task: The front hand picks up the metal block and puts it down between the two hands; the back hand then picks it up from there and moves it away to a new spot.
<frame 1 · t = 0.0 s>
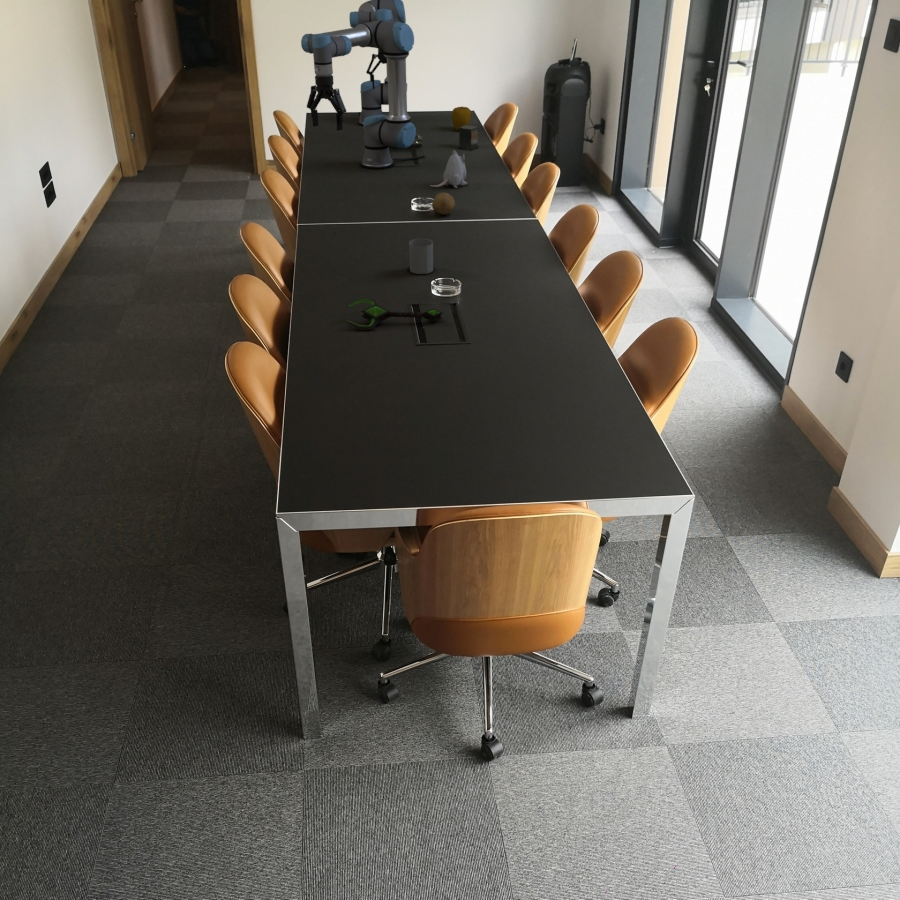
front hand: (327, 128, 372), 28 cm above the table, tool pointing down, fingers open, 13 cm apart
back hand: (386, 88, 449), 28 cm above the table, tool pointing down, fingers open, 13 cm apart
block: (468, 148, 457), on the table
toy: (447, 188, 394), on the table
potato: (443, 213, 363), on the table
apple: (461, 130, 491), on the table
cup: (421, 270, 308), on the table
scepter: (394, 322, 270), on the table
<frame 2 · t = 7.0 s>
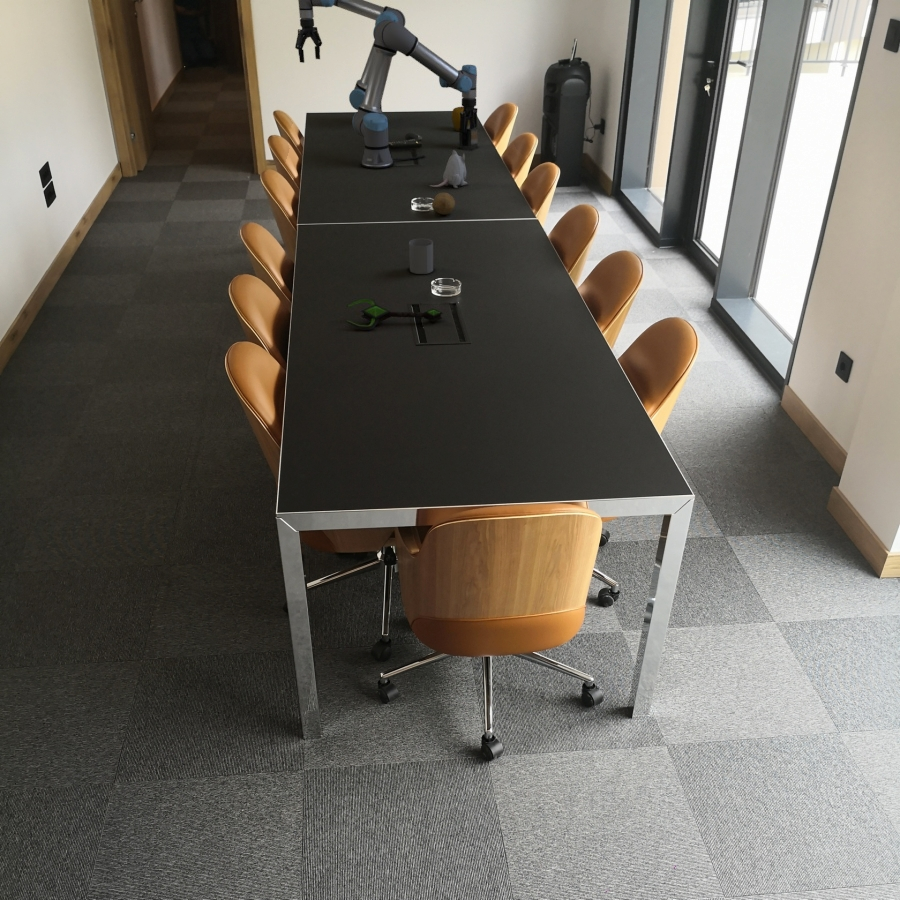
front hand: (468, 144, 456), 2 cm above the table, tool pointing down, fingers closed on block, 7 cm apart
back hand: (310, 60, 483), 34 cm above the table, tool pointing down, fingers open, 13 cm apart
block: (468, 148, 457), on the table, touching front hand
everything else where it was.
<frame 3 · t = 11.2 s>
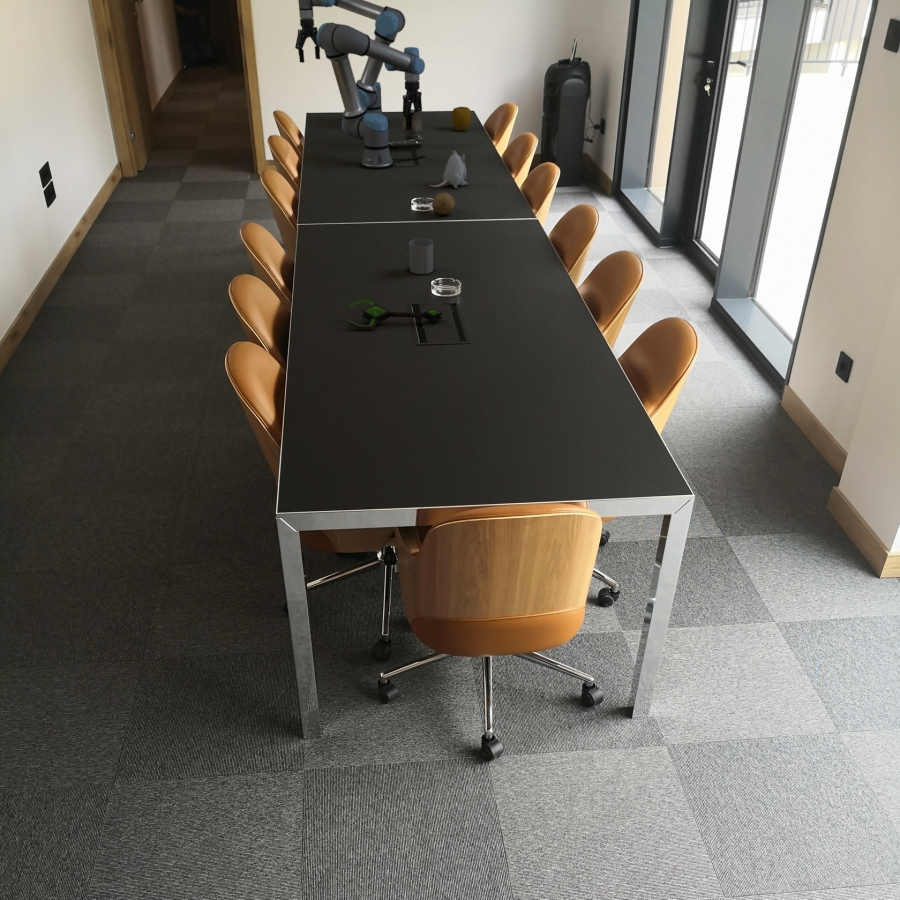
front hand: (412, 128, 450), 10 cm above the table, tool pointing down, fingers closed on block, 7 cm apart
back hand: (310, 60, 483), 34 cm above the table, tool pointing down, fingers open, 13 cm apart
block: (412, 132, 451), point 8 cm above the table, touching front hand
everything else where it was.
when the front hand's fingers open (3 cm above the table, at t = 15.2 s): block drops 1 cm, on the table.
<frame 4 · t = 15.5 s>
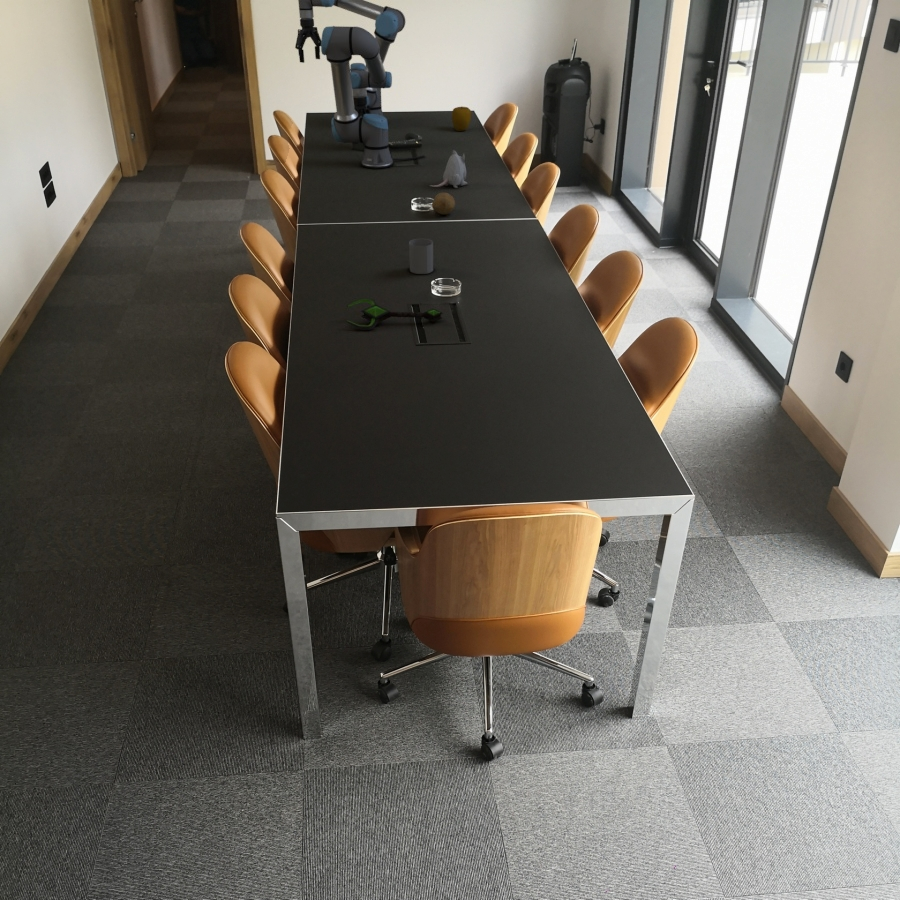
front hand: (361, 141, 453), 4 cm above the table, tool pointing down, fingers open, 10 cm apart
back hand: (310, 60, 483), 34 cm above the table, tool pointing down, fingers open, 13 cm apart
block: (362, 148, 455), on the table
everything else where it was.
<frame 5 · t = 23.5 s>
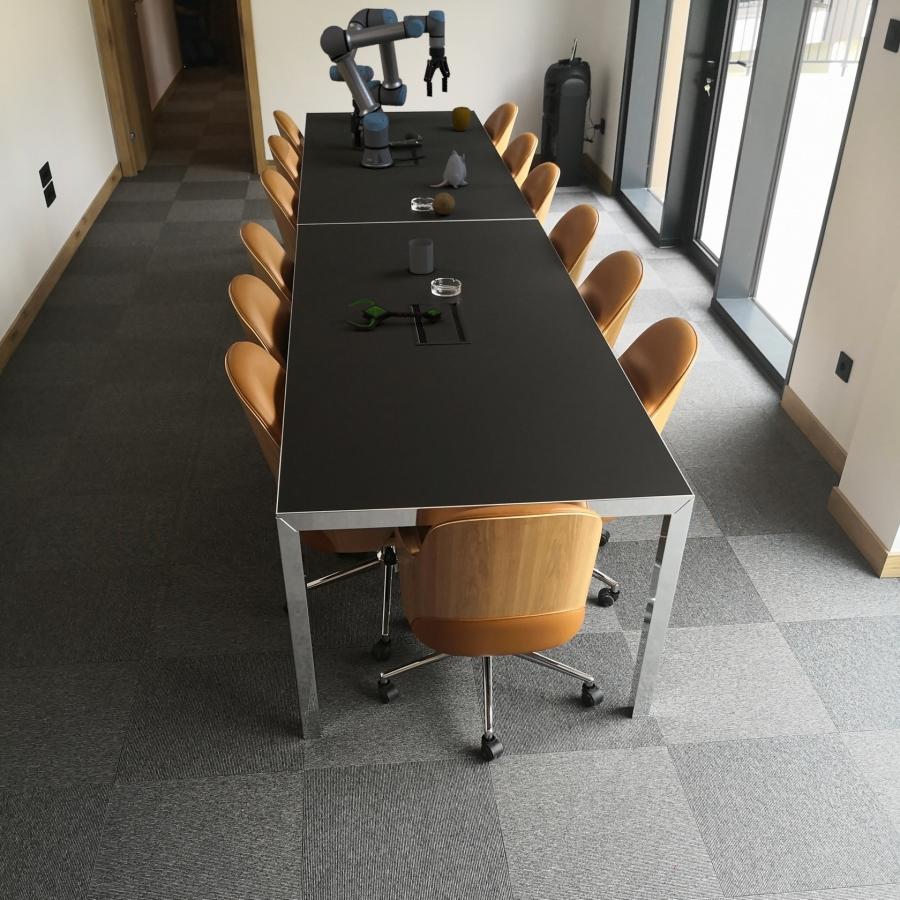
front hand: (437, 94, 424), 30 cm above the table, tool pointing down, fingers open, 13 cm apart
back hand: (361, 145, 454), 2 cm above the table, tool pointing down, fingers closed on block, 7 cm apart
block: (362, 148, 455), on the table, touching back hand
everything else where it was.
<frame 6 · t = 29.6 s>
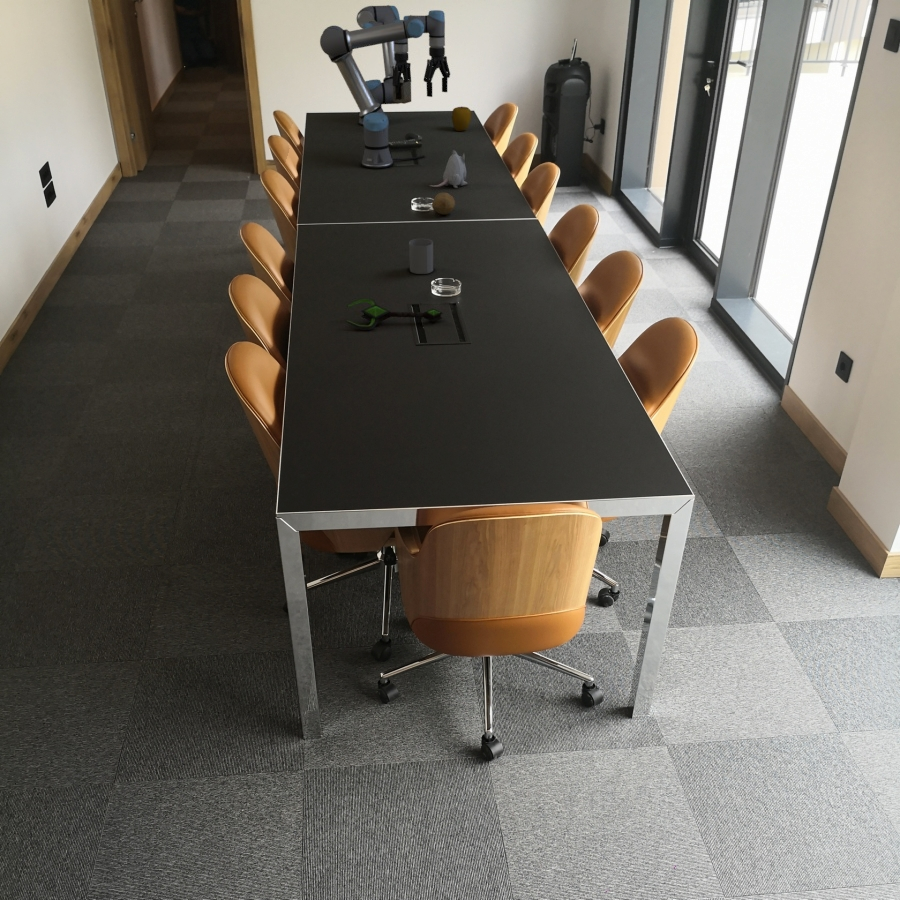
front hand: (437, 94, 424), 30 cm above the table, tool pointing down, fingers open, 13 cm apart
back hand: (402, 98, 475), 19 cm above the table, tool pointing down, fingers closed on block, 7 cm apart
block: (402, 101, 476), point 17 cm above the table, touching back hand
everything else where it was.
when the back hand's fingers open (3 cm above the table, at t = 35.6 s): block drops 1 cm, on the table.
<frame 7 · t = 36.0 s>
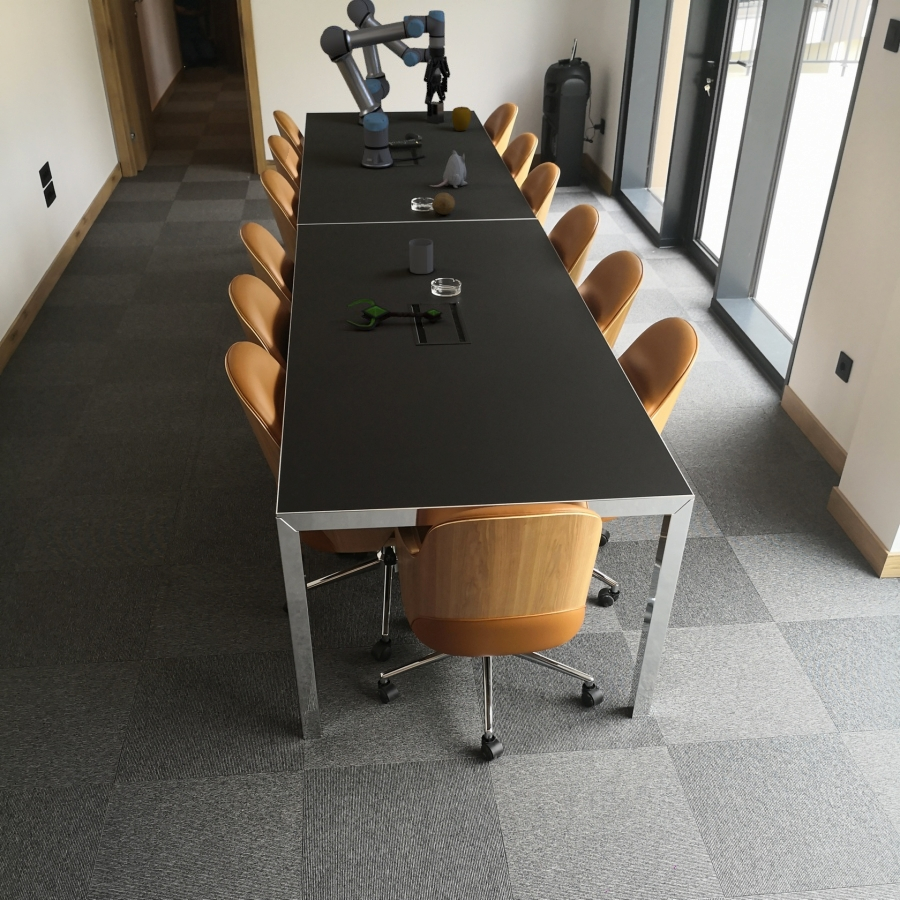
front hand: (437, 94, 424), 30 cm above the table, tool pointing down, fingers open, 13 cm apart
back hand: (435, 114, 507), 4 cm above the table, tool pointing down, fingers open, 11 cm apart
block: (435, 121, 510), on the table
everything else where it was.
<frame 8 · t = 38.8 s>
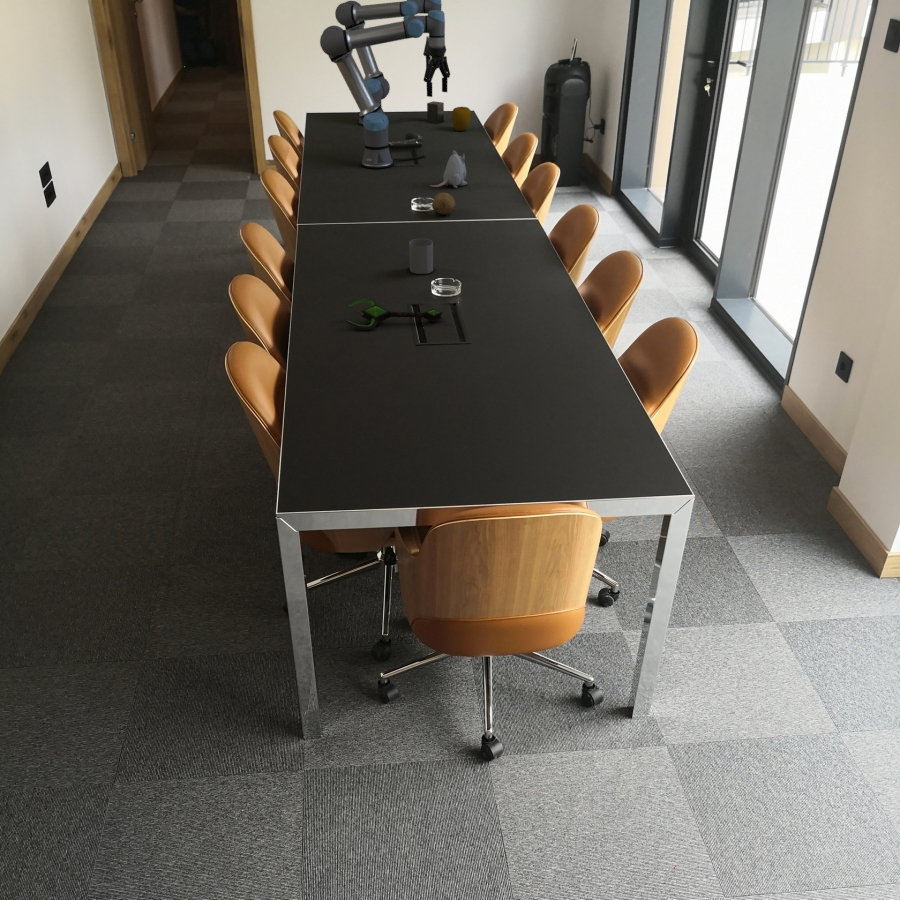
front hand: (437, 94, 424), 30 cm above the table, tool pointing down, fingers open, 13 cm apart
back hand: (435, 67, 494), 30 cm above the table, tool pointing down, fingers open, 13 cm apart
nothing on the table moved.
at the end: block inside the target area (0.1 cm from its centre), on the table; block tilted 0°; the two hands never held the block at the same time; the front hand is holding nothing; the back hand is holding nothing; block at rest at the end (0.0 cm/s) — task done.
